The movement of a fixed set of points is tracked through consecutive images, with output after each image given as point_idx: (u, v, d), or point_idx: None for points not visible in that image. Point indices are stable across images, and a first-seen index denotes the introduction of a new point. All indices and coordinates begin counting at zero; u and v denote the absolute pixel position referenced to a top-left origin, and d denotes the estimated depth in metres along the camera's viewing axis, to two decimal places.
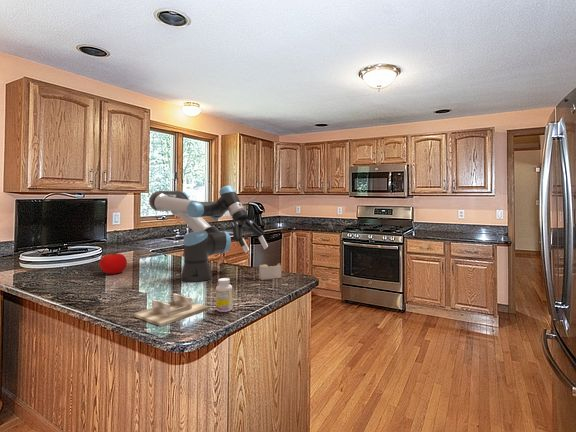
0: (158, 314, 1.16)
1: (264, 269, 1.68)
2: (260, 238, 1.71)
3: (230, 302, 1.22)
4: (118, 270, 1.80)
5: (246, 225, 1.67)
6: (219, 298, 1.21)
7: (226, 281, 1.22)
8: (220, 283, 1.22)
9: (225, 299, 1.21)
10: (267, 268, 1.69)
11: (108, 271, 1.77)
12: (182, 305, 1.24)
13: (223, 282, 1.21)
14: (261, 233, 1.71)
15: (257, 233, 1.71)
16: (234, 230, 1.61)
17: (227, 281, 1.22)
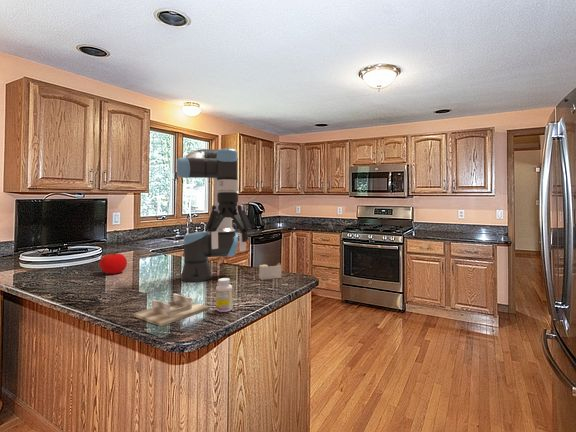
0: (158, 314, 1.16)
1: (264, 269, 1.68)
2: None
3: (230, 302, 1.22)
4: (118, 270, 1.80)
5: (225, 213, 1.23)
6: (219, 298, 1.21)
7: (226, 281, 1.22)
8: (220, 283, 1.22)
9: (225, 299, 1.21)
10: (267, 268, 1.69)
11: (108, 271, 1.77)
12: (182, 305, 1.24)
13: (223, 282, 1.21)
14: (241, 229, 1.19)
15: None
16: None
17: (227, 281, 1.22)
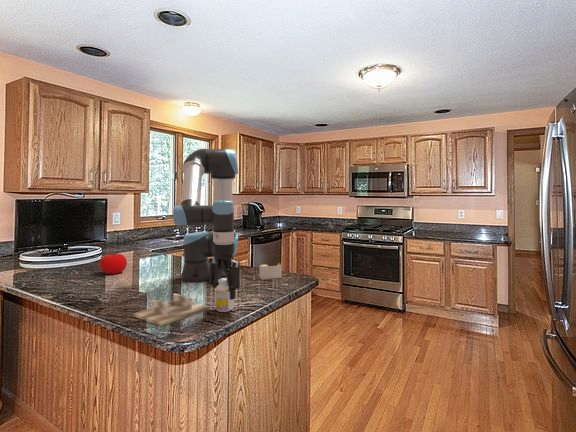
0: (158, 314, 1.16)
1: (264, 269, 1.68)
2: None
3: None
4: (118, 270, 1.80)
5: (221, 265, 1.22)
6: (219, 298, 1.21)
7: (226, 281, 1.22)
8: (220, 283, 1.22)
9: (225, 299, 1.21)
10: (267, 268, 1.69)
11: (108, 271, 1.77)
12: (182, 305, 1.24)
13: (223, 282, 1.21)
14: (229, 287, 1.20)
15: None
16: None
17: None
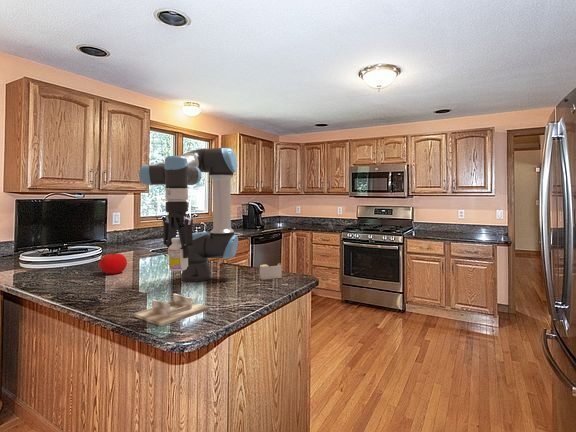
0: (158, 314, 1.16)
1: (264, 269, 1.68)
2: None
3: None
4: (118, 270, 1.80)
5: (174, 223, 1.18)
6: (172, 257, 1.17)
7: (179, 239, 1.18)
8: (173, 241, 1.18)
9: (178, 258, 1.17)
10: (268, 268, 1.69)
11: (108, 271, 1.77)
12: (182, 305, 1.24)
13: (176, 240, 1.18)
14: (182, 245, 1.17)
15: None
16: None
17: None
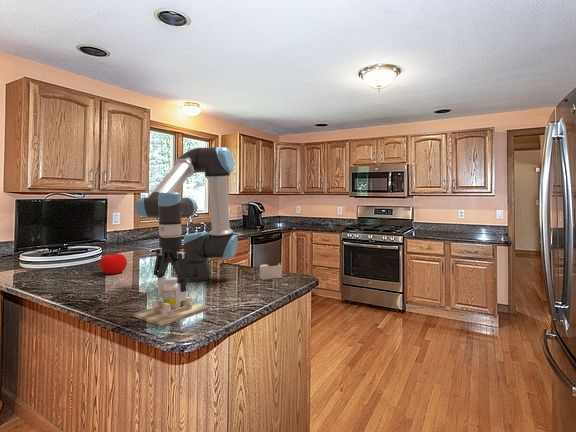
0: (158, 314, 1.16)
1: (265, 269, 1.68)
2: None
3: (177, 302, 1.19)
4: (118, 270, 1.80)
5: (168, 259, 1.19)
6: (165, 298, 1.18)
7: (173, 280, 1.19)
8: (166, 282, 1.19)
9: (172, 299, 1.18)
10: (268, 268, 1.69)
11: (108, 271, 1.77)
12: (182, 305, 1.24)
13: (169, 281, 1.18)
14: (179, 279, 1.16)
15: None
16: None
17: (174, 280, 1.19)
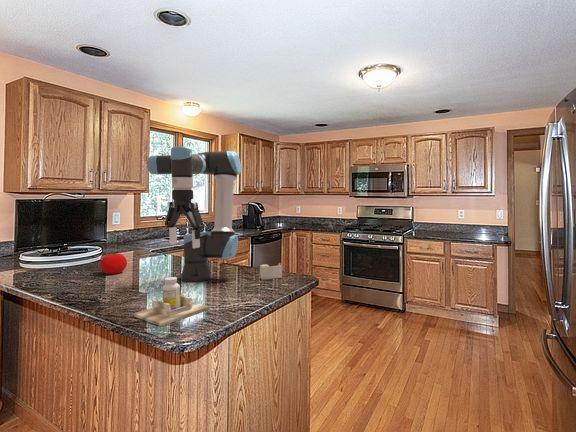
0: (158, 314, 1.16)
1: (265, 269, 1.68)
2: None
3: (177, 301, 1.20)
4: (118, 270, 1.80)
5: (180, 210, 1.25)
6: (165, 297, 1.18)
7: (172, 280, 1.19)
8: (166, 282, 1.19)
9: (172, 299, 1.18)
10: (268, 268, 1.69)
11: (108, 271, 1.77)
12: (182, 305, 1.24)
13: (169, 281, 1.18)
14: (194, 227, 1.21)
15: None
16: None
17: (174, 280, 1.19)
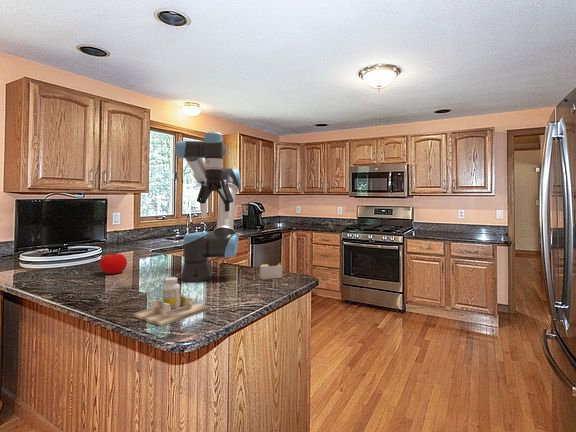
0: (158, 314, 1.16)
1: (265, 269, 1.69)
2: None
3: (177, 302, 1.20)
4: (118, 270, 1.80)
5: (212, 188, 1.45)
6: (166, 298, 1.18)
7: (173, 280, 1.19)
8: (167, 282, 1.19)
9: (172, 299, 1.18)
10: (268, 268, 1.69)
11: (108, 271, 1.77)
12: (182, 305, 1.24)
13: (170, 281, 1.18)
14: (224, 201, 1.41)
15: None
16: None
17: (174, 280, 1.19)
